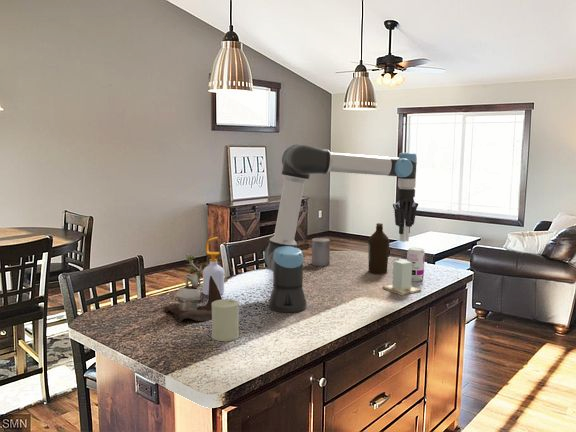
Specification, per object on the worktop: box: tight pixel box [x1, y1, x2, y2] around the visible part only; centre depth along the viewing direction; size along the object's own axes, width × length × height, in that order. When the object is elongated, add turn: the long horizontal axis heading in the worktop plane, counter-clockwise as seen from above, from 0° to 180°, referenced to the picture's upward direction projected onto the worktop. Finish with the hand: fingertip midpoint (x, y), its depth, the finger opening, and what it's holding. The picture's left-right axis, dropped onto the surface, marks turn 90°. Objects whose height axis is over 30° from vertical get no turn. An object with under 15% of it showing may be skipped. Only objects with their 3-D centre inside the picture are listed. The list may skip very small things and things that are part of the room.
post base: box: [382, 284, 422, 296], centre depth 234 cm, size 12×12×8 cm
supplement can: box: [406, 247, 426, 282], centre depth 253 cm, size 8×8×15 cm
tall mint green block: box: [392, 259, 412, 290], centre depth 234 cm, size 6×6×12 cm
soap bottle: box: [202, 236, 225, 297], centre depth 224 cm, size 9×9×25 cm
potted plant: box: [163, 254, 223, 324], centre depth 200 cm, size 20×19×25 cm
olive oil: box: [367, 222, 390, 275], centre depth 266 cm, size 11×11×25 cm
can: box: [211, 298, 240, 342], centre depth 175 cm, size 9×9×12 cm
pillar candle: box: [311, 237, 331, 267], centre depth 282 cm, size 10×10×15 cm
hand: (403, 241), depth 231 cm, fingers closed
